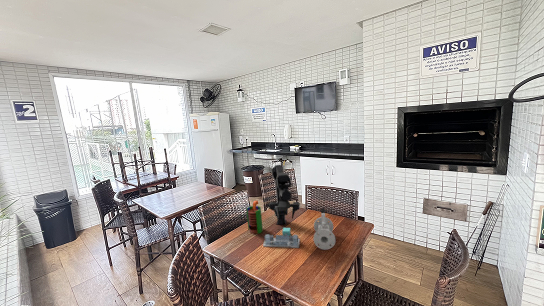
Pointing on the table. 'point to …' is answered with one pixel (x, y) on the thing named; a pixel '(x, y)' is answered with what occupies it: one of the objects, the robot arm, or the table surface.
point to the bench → (282, 241)
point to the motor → (254, 218)
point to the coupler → (286, 231)
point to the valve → (323, 232)
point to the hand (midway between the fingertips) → (285, 218)
